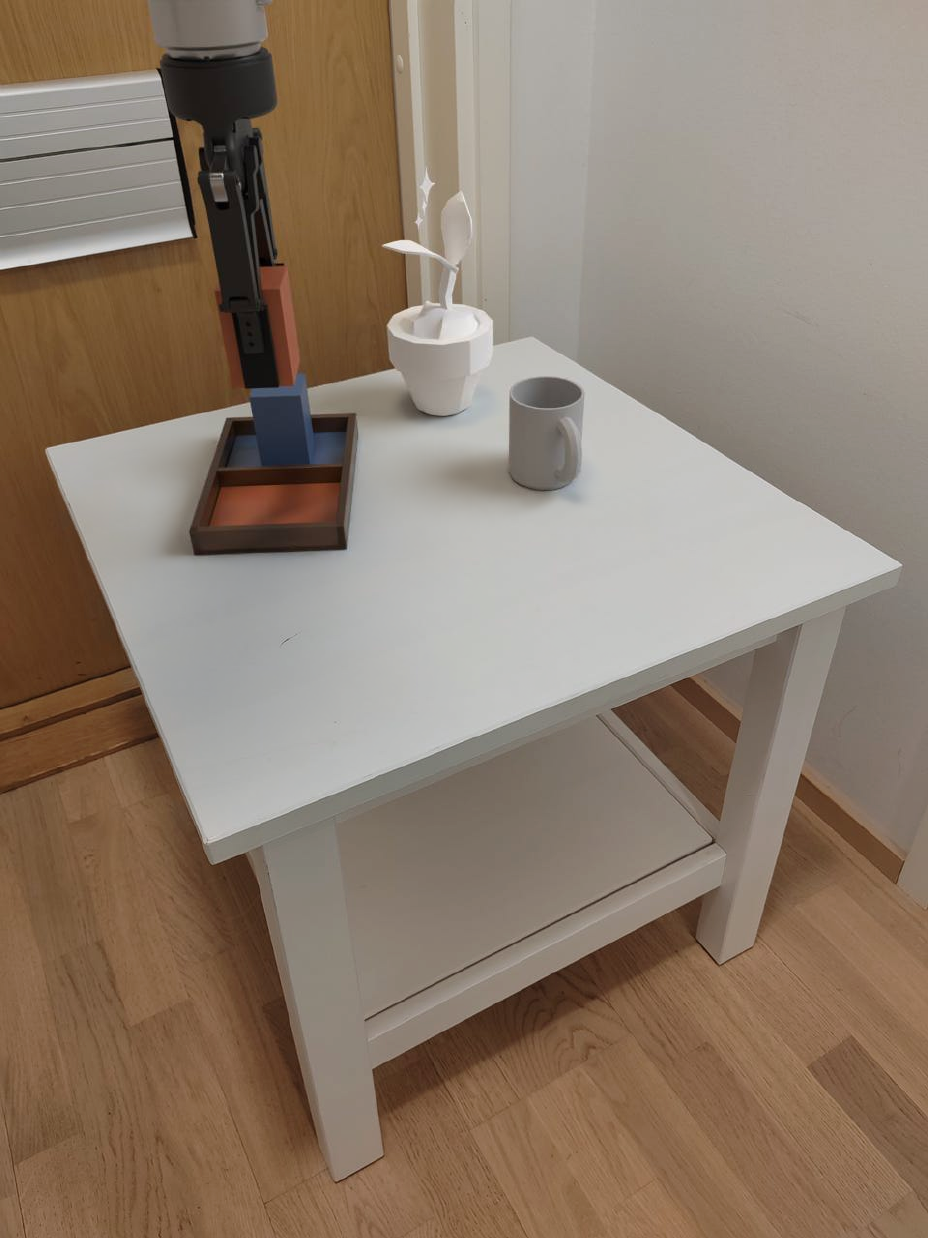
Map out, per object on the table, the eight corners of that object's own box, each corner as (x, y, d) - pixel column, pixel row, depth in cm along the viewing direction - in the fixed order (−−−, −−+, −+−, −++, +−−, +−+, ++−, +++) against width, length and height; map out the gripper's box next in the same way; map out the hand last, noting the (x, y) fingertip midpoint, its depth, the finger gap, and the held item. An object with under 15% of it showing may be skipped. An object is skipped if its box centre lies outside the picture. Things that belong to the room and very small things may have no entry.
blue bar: (261, 468, 98) (249, 397, 93) (267, 444, 102) (255, 374, 97) (310, 466, 98) (300, 395, 93) (314, 443, 102) (305, 372, 97)
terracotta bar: (232, 388, 77) (214, 290, 72) (241, 361, 81) (224, 267, 76) (294, 386, 78) (279, 288, 72) (300, 359, 81) (287, 265, 76)
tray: (194, 555, 88) (188, 531, 86) (230, 438, 105) (226, 417, 103) (346, 549, 88) (344, 525, 86) (358, 434, 105) (355, 412, 103)
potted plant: (456, 373, 116) (450, 151, 100) (513, 409, 109) (516, 175, 93) (366, 402, 111) (344, 171, 95) (418, 441, 103) (405, 198, 87)
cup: (557, 449, 101) (561, 370, 96) (606, 494, 94) (613, 412, 89) (496, 464, 99) (496, 384, 93) (542, 511, 92) (545, 428, 86)
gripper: (251, 71, 58) (301, 420, 72) (285, 25, 72) (321, 326, 86) (126, 75, 57) (202, 423, 72) (184, 28, 71) (238, 329, 86)
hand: (266, 370), depth 79 cm, fingers closed on terracotta bar, 5 cm apart
